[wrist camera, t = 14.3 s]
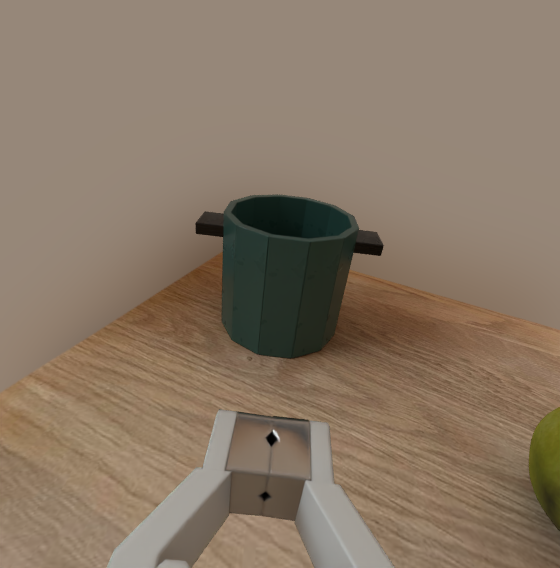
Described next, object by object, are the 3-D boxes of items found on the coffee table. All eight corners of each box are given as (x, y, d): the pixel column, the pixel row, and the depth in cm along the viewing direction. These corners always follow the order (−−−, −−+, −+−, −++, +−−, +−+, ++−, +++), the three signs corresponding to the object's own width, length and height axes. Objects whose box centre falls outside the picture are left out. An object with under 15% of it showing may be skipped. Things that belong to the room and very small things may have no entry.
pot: (185, 346, 29) (179, 225, 24) (214, 282, 39) (214, 186, 33) (364, 367, 29) (400, 252, 24) (349, 298, 39) (372, 205, 33)
